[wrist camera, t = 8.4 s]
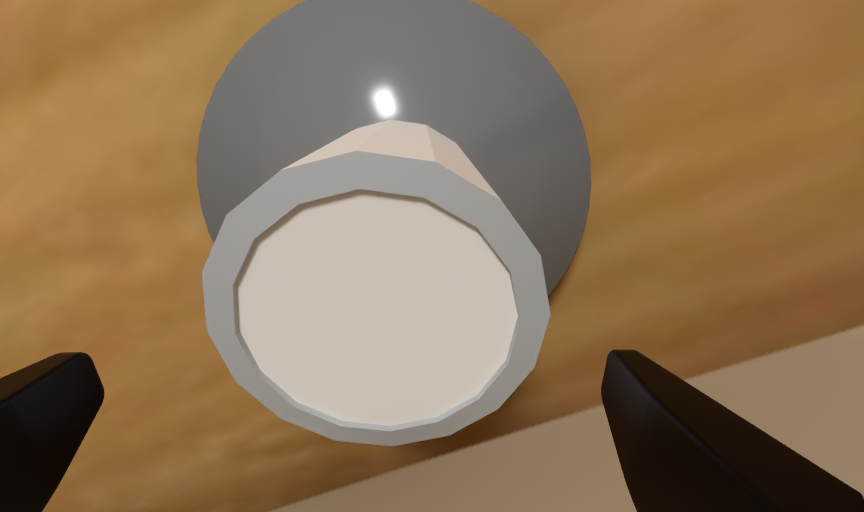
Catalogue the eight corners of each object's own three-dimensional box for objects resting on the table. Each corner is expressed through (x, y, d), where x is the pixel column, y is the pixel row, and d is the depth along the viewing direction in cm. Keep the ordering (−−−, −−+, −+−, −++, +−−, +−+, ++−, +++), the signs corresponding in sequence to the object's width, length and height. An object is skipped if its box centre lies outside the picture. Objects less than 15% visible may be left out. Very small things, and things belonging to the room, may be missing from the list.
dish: (608, -14, 14) (624, -18, 12) (557, 343, 19) (564, 362, 18) (171, -13, 14) (148, -17, 12) (248, 344, 19) (238, 362, 18)
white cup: (543, 198, 15) (625, 314, 9) (408, 326, 17) (397, 492, 11) (383, 46, 13) (342, 57, 7) (254, 213, 15) (133, 338, 9)
